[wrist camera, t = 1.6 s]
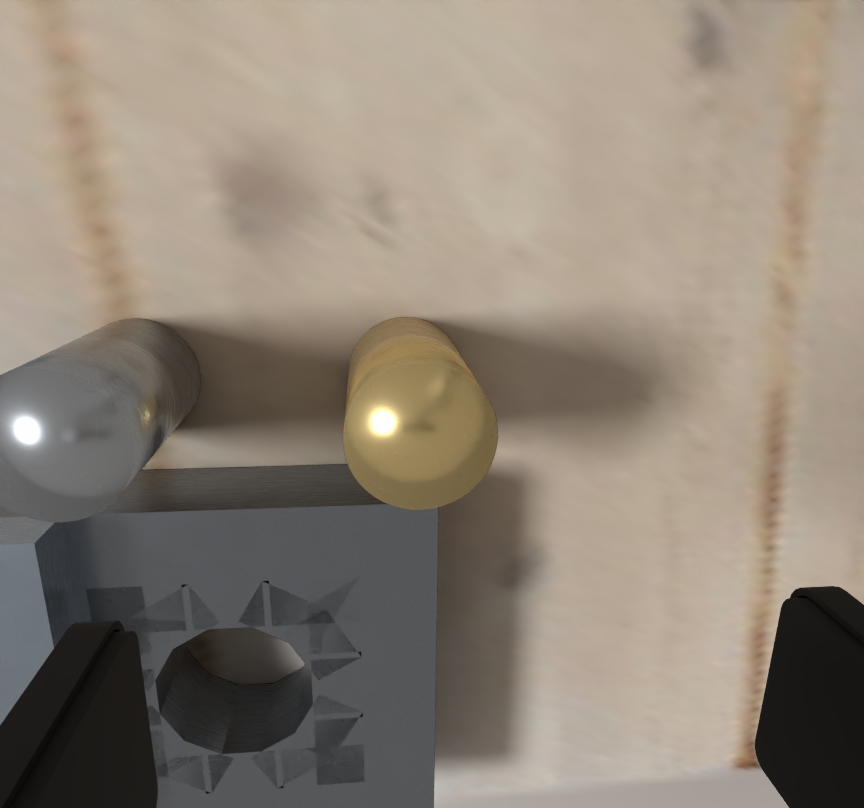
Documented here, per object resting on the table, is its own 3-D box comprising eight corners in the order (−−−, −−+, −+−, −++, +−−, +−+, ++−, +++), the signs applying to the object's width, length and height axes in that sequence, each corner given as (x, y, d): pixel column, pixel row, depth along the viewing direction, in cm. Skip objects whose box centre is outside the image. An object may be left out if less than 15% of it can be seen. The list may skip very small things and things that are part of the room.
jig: (428, 462, 28) (444, 527, 22) (425, 756, 33) (438, 873, 27) (37, 472, 26) (-52, 546, 21) (93, 780, 31) (33, 910, 25)
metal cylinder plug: (195, 318, 25) (123, 367, 18) (206, 429, 27) (143, 519, 19) (71, 318, 25) (-57, 369, 17) (88, 432, 26) (-24, 525, 19)
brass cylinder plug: (461, 316, 26) (501, 362, 19) (458, 423, 28) (494, 507, 20) (347, 317, 26) (340, 364, 18) (350, 426, 27) (345, 512, 20)
